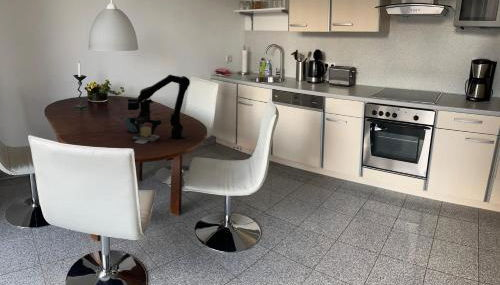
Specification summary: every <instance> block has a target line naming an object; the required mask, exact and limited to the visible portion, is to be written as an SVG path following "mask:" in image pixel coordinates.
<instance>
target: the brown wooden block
mask: <svg viewBox="0 0 500 285" xmlns="http://www.w3.org/2000/svg"><path fill="white" fill-rule="evenodd" d="M140 134H141V137H145V138H149V137H151V135H152V126H150V127H149V126H143V127H142V128H141V131H140Z"/></svg>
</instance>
